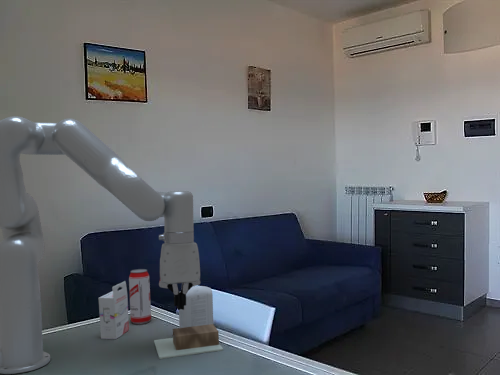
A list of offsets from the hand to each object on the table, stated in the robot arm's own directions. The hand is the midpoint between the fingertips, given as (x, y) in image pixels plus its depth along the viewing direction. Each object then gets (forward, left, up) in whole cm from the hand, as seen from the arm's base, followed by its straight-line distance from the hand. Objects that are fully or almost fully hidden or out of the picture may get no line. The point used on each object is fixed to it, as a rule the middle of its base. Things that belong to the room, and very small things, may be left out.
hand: (180, 308), depth 129 cm
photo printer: (+6, +14, -10) cm, 19 cm away
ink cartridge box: (-17, +18, -10) cm, 26 cm away
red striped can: (-9, +28, -10) cm, 31 cm away
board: (+1, 0, -10) cm, 10 cm away
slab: (-2, 0, -8) cm, 8 cm away
